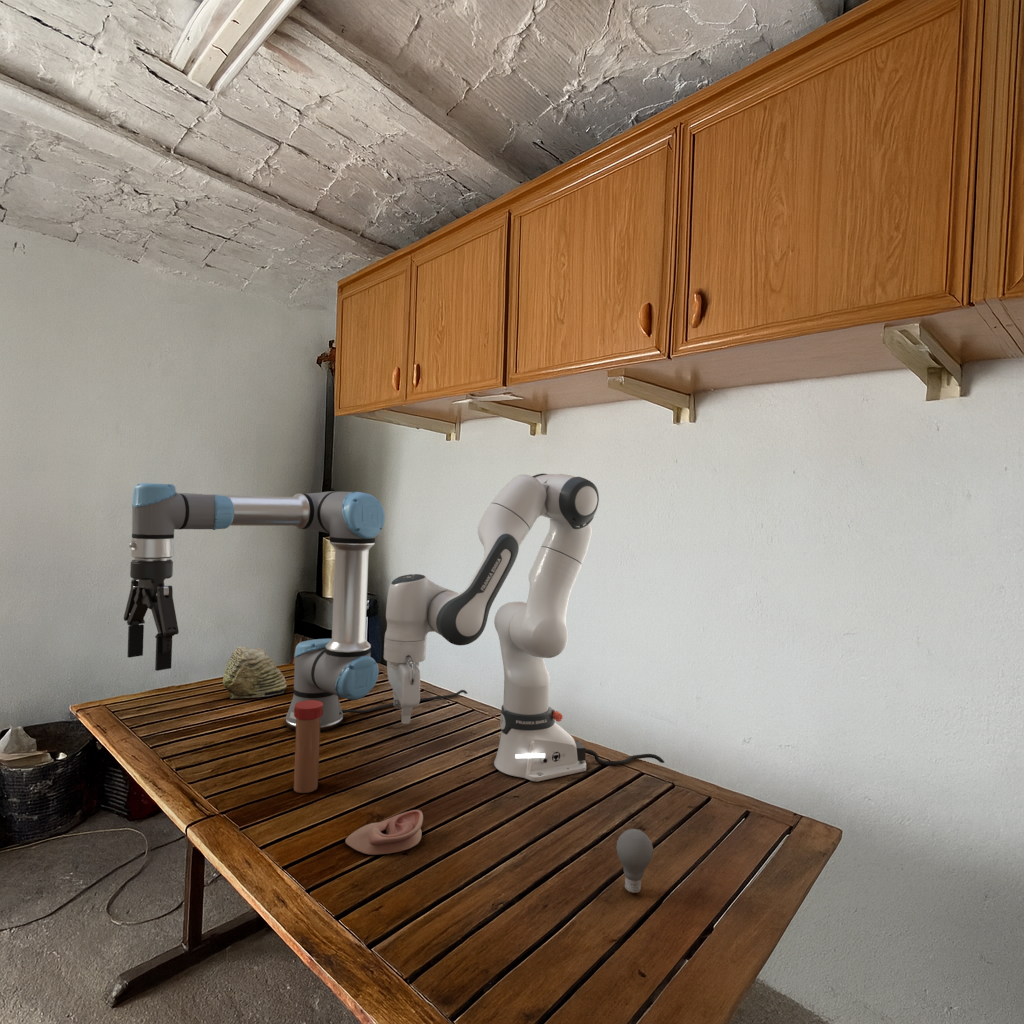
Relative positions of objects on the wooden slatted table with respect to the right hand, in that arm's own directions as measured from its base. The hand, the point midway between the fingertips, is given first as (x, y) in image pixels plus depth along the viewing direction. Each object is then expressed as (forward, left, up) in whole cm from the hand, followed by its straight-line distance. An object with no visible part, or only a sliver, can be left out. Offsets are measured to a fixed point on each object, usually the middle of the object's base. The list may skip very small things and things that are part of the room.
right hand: (401, 715), depth 135 cm
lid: (+19, -9, 0) cm, 21 cm away
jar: (+19, -9, -18) cm, 27 cm away
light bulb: (-32, +43, -17) cm, 57 cm away
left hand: (+50, -11, +10) cm, 52 cm away
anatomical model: (+5, +17, -17) cm, 25 cm away
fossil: (+33, -77, -17) cm, 86 cm away
